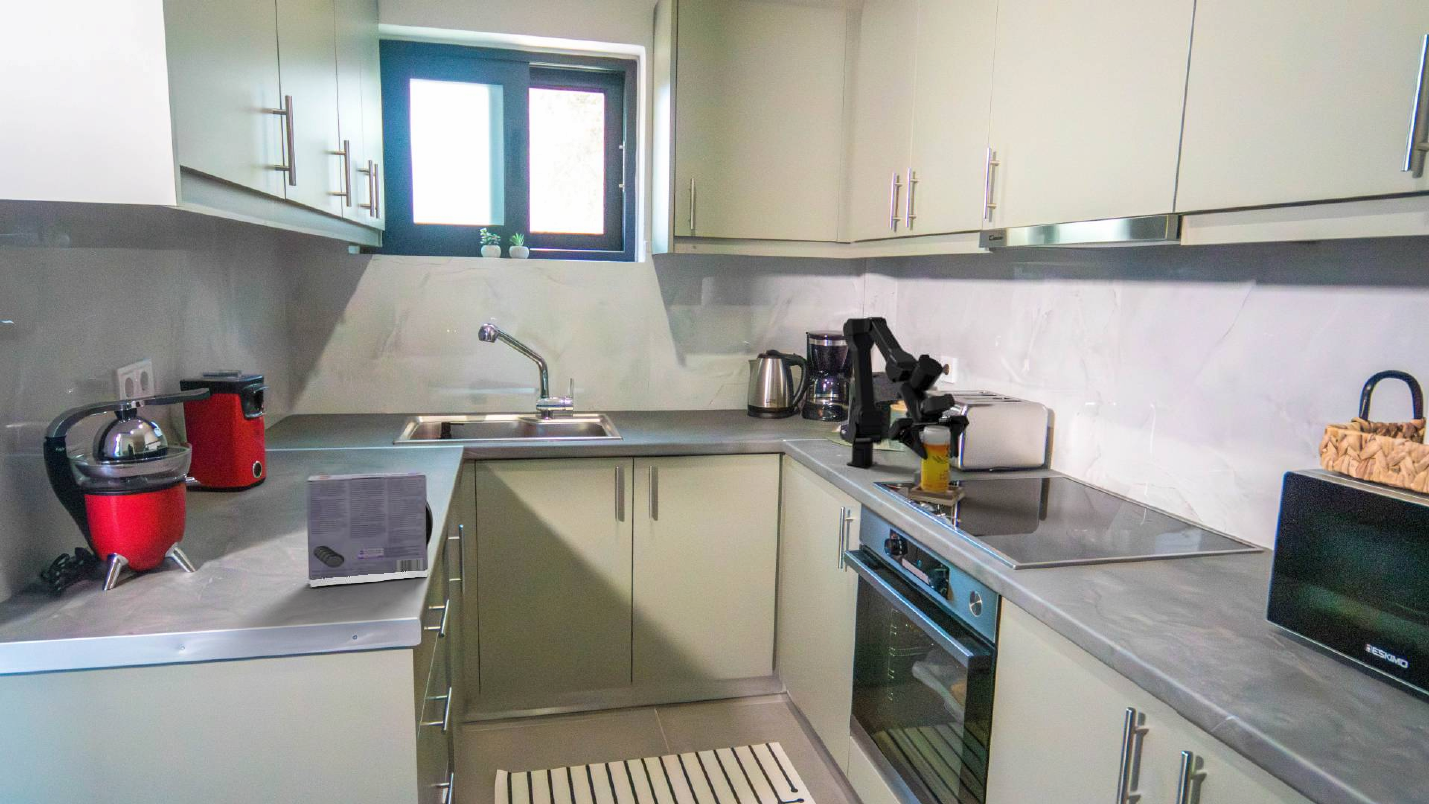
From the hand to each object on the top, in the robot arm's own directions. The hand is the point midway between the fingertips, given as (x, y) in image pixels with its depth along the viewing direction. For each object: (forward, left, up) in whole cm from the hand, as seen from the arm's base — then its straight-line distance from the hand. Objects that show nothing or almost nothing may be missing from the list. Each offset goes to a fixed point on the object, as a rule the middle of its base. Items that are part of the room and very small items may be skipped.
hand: (941, 457), depth 195 cm
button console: (-14, -6, -10) cm, 18 cm away
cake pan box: (+103, -64, -10) cm, 121 cm away
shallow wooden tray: (-1, -1, -10) cm, 10 cm away
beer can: (-1, -2, -9) cm, 9 cm away
